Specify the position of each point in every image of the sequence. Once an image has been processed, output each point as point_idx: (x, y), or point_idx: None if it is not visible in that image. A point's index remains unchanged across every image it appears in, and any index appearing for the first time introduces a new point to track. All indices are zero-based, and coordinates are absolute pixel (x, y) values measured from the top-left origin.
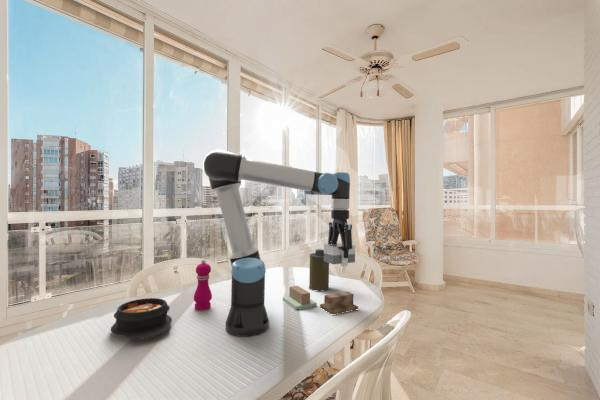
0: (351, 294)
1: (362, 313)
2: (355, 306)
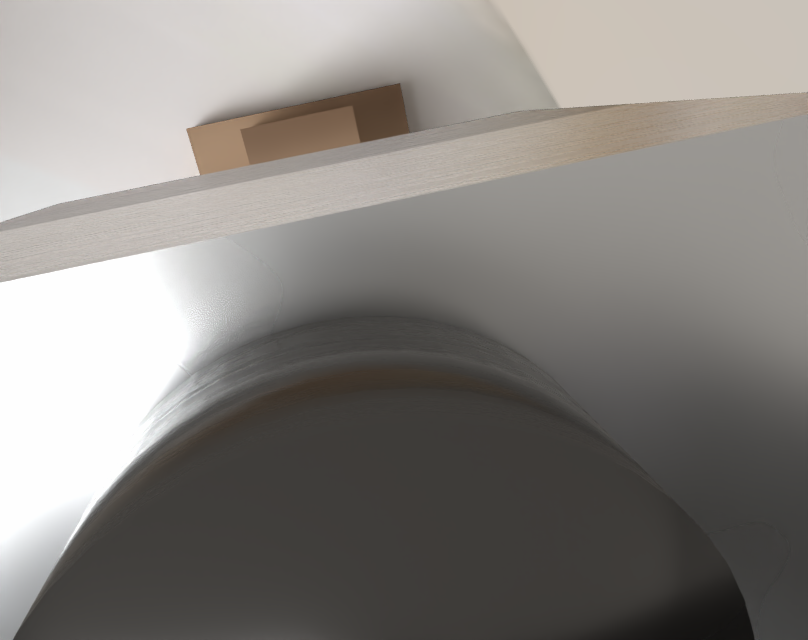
0: (357, 135)
1: (475, 82)
2: (391, 108)
